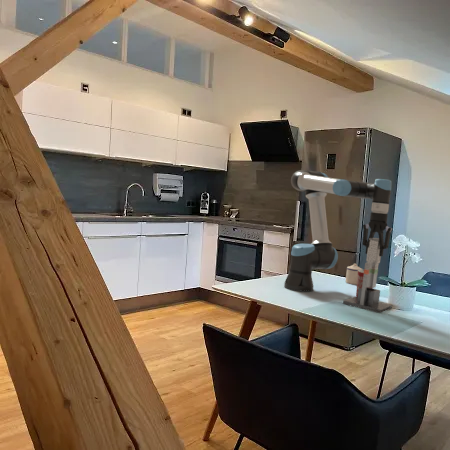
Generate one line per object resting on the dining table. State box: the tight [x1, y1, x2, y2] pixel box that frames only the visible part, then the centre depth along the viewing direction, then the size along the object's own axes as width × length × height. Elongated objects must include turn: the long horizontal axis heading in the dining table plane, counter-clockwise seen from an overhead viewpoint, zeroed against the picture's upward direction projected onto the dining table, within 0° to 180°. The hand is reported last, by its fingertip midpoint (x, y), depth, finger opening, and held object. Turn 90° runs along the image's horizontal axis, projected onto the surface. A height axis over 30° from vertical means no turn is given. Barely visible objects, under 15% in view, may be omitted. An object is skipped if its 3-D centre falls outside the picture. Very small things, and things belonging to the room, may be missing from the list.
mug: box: [355, 269, 374, 297], centre depth 236 cm, size 13×9×14 cm
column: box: [366, 237, 380, 289], centre depth 215 cm, size 5×5×23 cm
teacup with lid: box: [345, 263, 363, 286], centre depth 273 cm, size 12×9×12 cm
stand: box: [342, 262, 393, 314], centre depth 215 cm, size 18×15×21 cm
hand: (373, 261), depth 215 cm, fingers closed on column, 4 cm apart
